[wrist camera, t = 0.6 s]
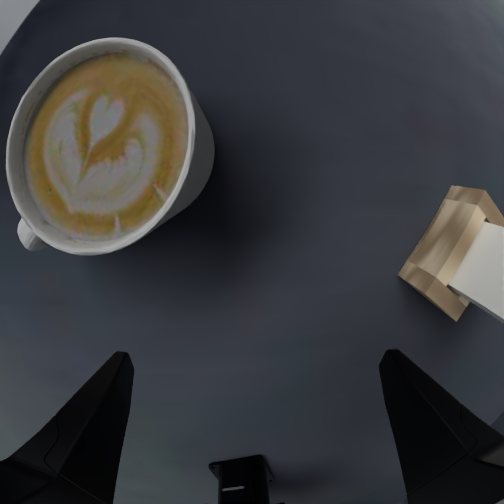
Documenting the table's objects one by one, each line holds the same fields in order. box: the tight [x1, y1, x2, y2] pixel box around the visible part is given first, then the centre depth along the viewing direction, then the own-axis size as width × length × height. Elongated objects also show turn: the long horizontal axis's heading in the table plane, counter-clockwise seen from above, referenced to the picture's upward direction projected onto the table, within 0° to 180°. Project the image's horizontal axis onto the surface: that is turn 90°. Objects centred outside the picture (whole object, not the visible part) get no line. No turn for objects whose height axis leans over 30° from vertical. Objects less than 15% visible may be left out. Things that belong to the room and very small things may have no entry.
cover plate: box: [446, 222, 504, 324], centre depth 17 cm, size 6×2×11 cm, turn 146°
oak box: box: [397, 186, 504, 322], centre depth 21 cm, size 10×5×4 cm, turn 146°
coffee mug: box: [6, 38, 215, 256], centre depth 15 cm, size 13×10×10 cm
